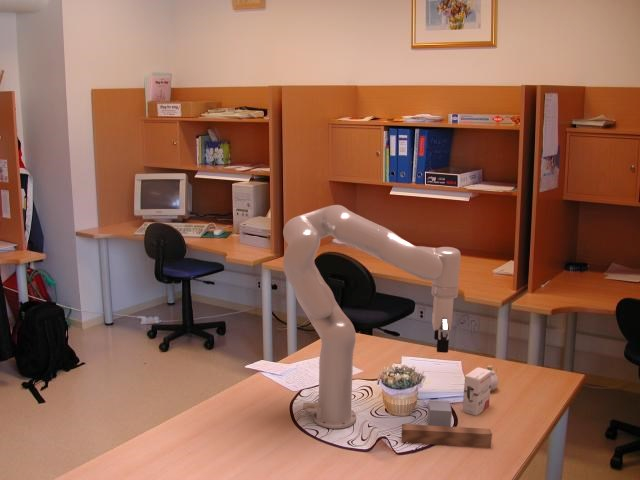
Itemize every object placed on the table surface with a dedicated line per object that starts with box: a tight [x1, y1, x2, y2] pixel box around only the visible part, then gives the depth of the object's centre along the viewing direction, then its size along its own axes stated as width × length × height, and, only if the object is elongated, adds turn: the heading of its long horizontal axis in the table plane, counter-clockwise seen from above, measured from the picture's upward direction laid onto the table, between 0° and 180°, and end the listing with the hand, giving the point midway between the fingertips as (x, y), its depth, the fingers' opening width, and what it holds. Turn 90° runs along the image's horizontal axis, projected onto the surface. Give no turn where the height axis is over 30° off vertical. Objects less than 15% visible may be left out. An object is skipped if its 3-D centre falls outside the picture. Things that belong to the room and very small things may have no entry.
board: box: [401, 423, 493, 449], centre depth 198 cm, size 24×3×4 cm, turn 86°
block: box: [427, 399, 453, 427], centre depth 207 cm, size 6×6×6 cm
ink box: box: [461, 367, 492, 417], centre depth 216 cm, size 9×5×12 cm, turn 141°
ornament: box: [486, 363, 499, 392], centre depth 229 cm, size 6×7×10 cm
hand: (440, 345), depth 212 cm, fingers open, 9 cm apart
